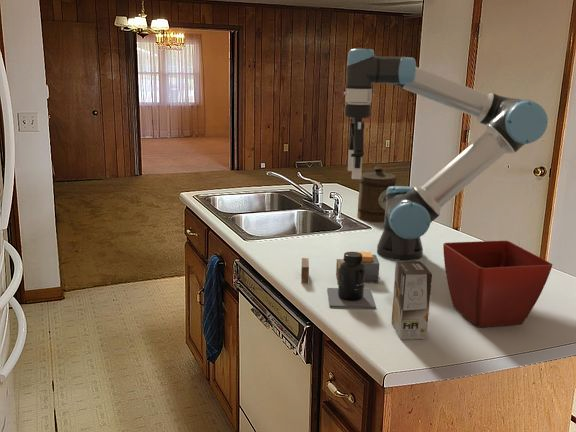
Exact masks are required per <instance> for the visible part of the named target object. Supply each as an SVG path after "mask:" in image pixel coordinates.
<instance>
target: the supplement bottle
mask: <svg viewBox="0 0 576 432" xmlns="http://www.w3.org/2000/svg"><path fill="white" fill-rule="evenodd" d="M358 252H359V251H346V252H344V254H343V258H342V259H343V260H344V262H343V263H341V265H340V268H339V284H338V283H337V285H338V286H337V288H338V296H339V297H340V298H342V299H344V300H348V301H357V300H360V299H362V297H363V292H364V289H365V283H364V279H365V266H364V265H363V264H362V263H361V262H362V254H361V253H358Z"/></svg>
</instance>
